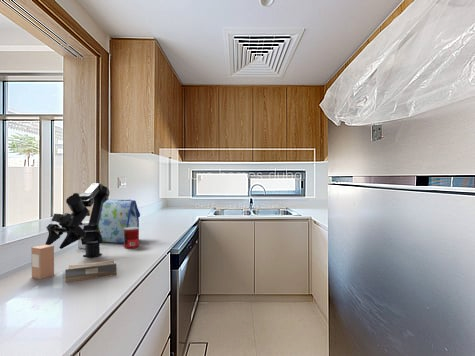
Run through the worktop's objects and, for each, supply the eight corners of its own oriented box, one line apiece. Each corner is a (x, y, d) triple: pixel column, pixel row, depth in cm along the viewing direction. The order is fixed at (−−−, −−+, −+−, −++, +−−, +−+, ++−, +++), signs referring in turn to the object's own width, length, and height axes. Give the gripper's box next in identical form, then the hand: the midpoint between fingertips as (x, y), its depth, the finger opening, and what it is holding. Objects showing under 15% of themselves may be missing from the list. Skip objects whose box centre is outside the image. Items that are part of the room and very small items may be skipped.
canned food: (141, 245, 170) (141, 227, 170) (132, 249, 163) (132, 229, 163) (130, 245, 173) (130, 226, 173) (121, 248, 165) (121, 228, 165)
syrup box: (86, 248, 165) (86, 222, 165) (77, 248, 167) (77, 222, 167) (93, 246, 171) (93, 221, 171) (84, 245, 172) (84, 221, 172)
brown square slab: (69, 269, 128) (69, 258, 128) (113, 263, 136) (113, 253, 136) (65, 282, 111) (65, 270, 111) (116, 275, 119) (116, 264, 119)
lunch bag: (141, 238, 191) (141, 198, 191) (128, 244, 175) (127, 200, 175) (110, 237, 195) (110, 198, 195) (94, 243, 179) (94, 200, 179)
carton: (54, 274, 120) (53, 245, 120) (40, 279, 115) (39, 248, 115) (45, 273, 123) (45, 244, 123) (31, 277, 117) (30, 247, 117)
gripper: (50, 205, 131) (24, 234, 121) (79, 207, 124) (54, 238, 114) (67, 220, 139) (43, 249, 128) (95, 223, 131) (73, 253, 121)
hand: (52, 247), depth 123 cm, fingers open, 9 cm apart
